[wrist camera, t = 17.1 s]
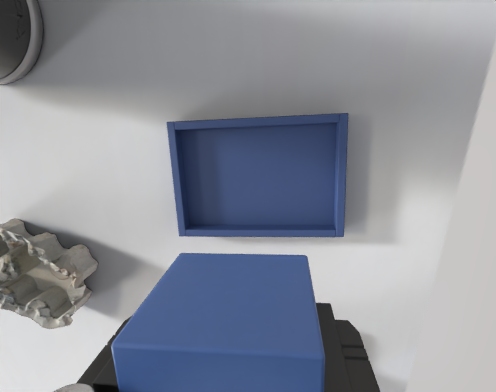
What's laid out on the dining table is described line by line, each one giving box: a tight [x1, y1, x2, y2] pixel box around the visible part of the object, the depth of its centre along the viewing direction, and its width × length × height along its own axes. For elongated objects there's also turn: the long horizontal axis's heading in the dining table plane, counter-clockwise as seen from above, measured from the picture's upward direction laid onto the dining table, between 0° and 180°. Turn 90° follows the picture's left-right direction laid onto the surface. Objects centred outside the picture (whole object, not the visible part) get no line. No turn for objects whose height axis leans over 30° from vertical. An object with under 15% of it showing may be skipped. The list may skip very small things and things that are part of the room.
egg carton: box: [0, 219, 98, 329], centre depth 27 cm, size 11×8×4 cm
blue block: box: [111, 253, 325, 392], centre depth 9 cm, size 4×4×4 cm
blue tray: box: [167, 113, 348, 237], centre depth 23 cm, size 13×9×2 cm
